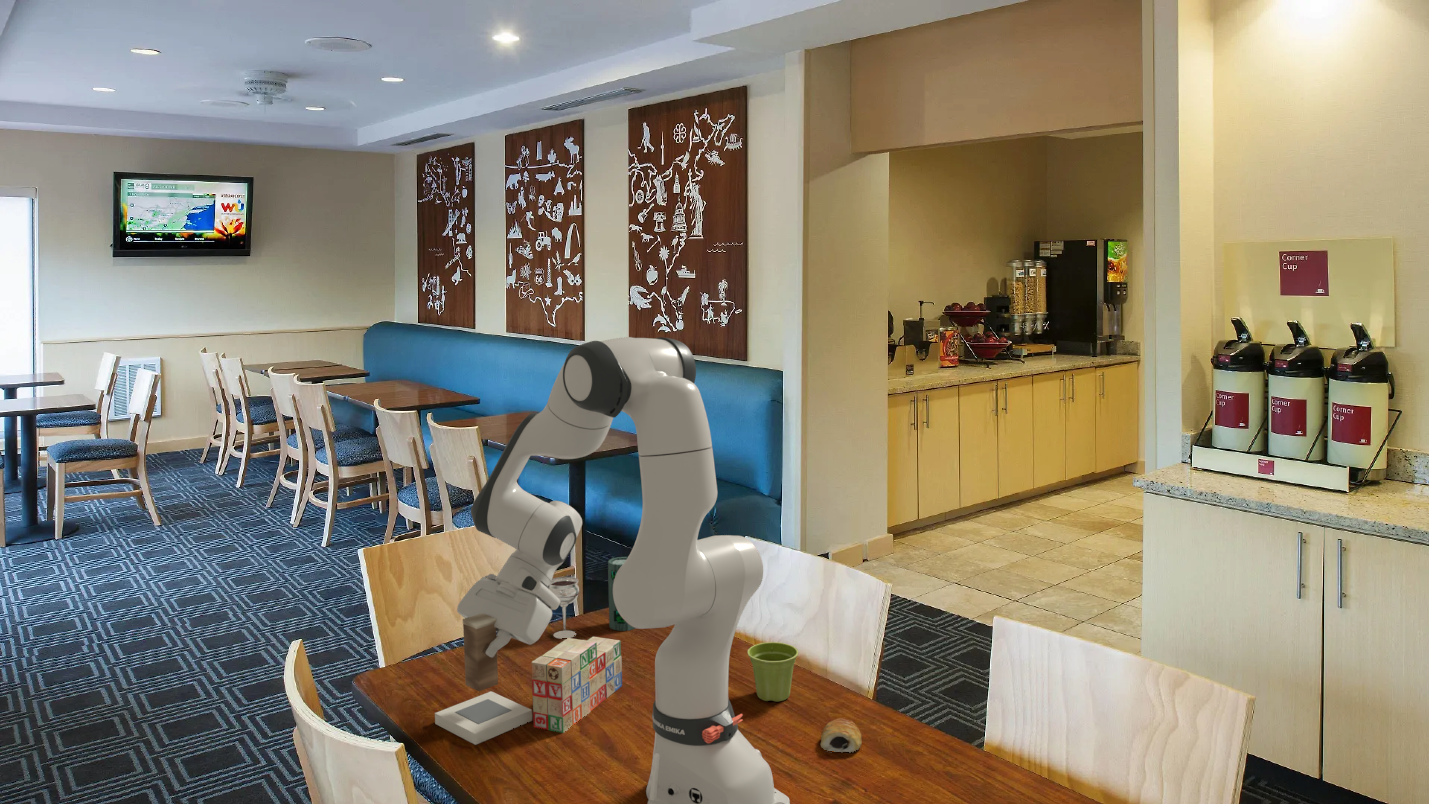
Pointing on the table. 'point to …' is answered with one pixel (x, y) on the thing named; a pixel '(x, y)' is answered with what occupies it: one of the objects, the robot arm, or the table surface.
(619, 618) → the can
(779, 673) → the plant pot
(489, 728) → the plate
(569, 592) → the wineglass
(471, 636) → the brown tall block
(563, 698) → the stack of blocks
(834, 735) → the pastry
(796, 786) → the table surface
